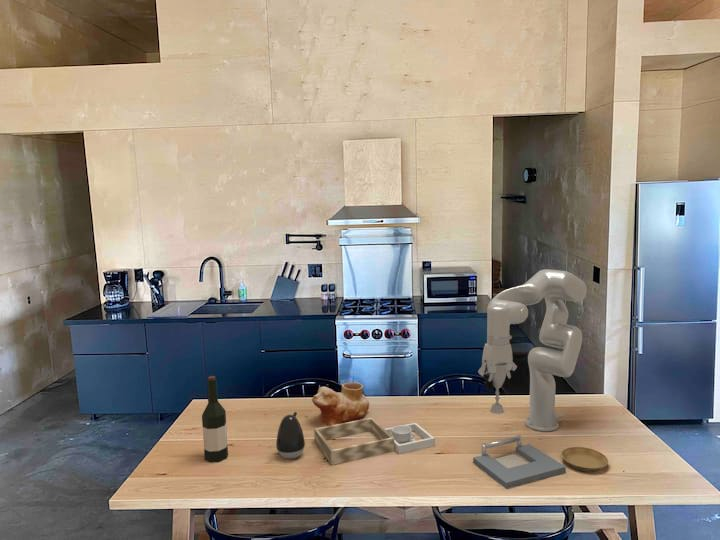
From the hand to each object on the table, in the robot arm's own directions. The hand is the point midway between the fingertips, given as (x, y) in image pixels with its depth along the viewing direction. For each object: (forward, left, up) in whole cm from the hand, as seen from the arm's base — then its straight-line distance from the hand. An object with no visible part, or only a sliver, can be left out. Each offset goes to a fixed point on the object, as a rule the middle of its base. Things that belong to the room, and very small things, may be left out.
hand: (497, 389), depth 186 cm
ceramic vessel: (+40, -52, -24) cm, 70 cm away
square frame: (+25, -21, -24) cm, 40 cm away
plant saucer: (-22, +19, -24) cm, 38 cm away
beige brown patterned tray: (+45, -26, -24) cm, 57 cm away
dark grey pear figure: (+68, -29, -24) cm, 78 cm away
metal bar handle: (0, +3, -24) cm, 24 cm away
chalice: (0, 0, -8) cm, 8 cm away
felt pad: (0, +8, -24) cm, 25 cm away
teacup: (+26, -23, -24) cm, 42 cm away
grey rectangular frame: (0, +12, -24) cm, 26 cm away
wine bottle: (+93, -39, -24) cm, 104 cm away
